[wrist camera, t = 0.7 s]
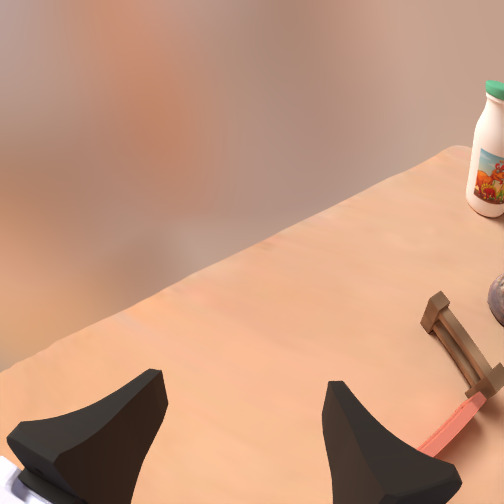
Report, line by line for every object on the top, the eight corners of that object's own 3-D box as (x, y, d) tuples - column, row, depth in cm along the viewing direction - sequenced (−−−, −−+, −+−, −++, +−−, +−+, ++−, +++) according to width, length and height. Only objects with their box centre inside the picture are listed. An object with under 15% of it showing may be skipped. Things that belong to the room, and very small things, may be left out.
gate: (462, 402, 19) (479, 391, 16) (469, 410, 18) (487, 399, 15) (374, 481, 17) (380, 484, 14) (381, 489, 16) (387, 494, 13)
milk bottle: (456, 199, 36) (465, 77, 22) (478, 183, 37) (488, 74, 23) (491, 226, 31) (515, 98, 17) (511, 207, 31) (531, 93, 17)
